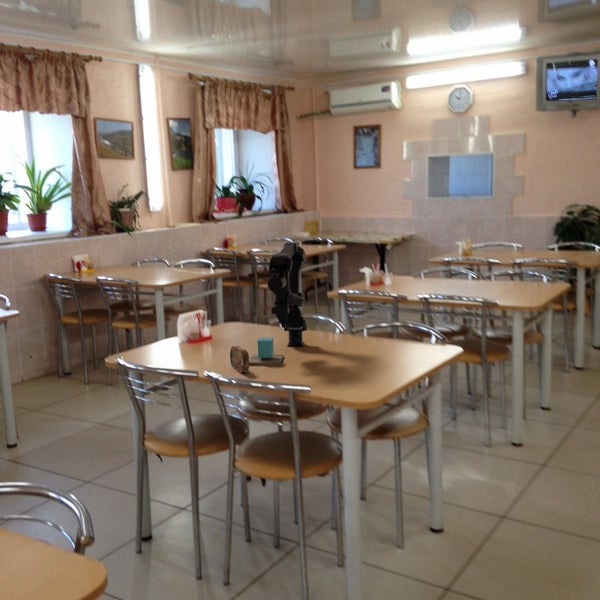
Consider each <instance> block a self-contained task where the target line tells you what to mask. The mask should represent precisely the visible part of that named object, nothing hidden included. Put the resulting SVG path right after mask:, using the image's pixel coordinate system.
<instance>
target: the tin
mask: <svg viewBox="0 0 600 600" xmlns="http://www.w3.org/2000/svg"><path fill="white" fill-rule="evenodd" d="M229 359H230V360H229V361H230V366H231V367H233V368H234V369H233V368H232V369H233V370H234V371H236V370H237V372H238V373H239V374H241V373H247V372H248V371H249V369H250V365H249V361H250V357H249V352H248V351H247V349H245V348H243V347H242V346H241V345H236V346H235V345H233V346H231V348H230V351H229Z"/></svg>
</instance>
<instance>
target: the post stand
mask: <svg viewBox="0 0 600 600" xmlns="http://www.w3.org/2000/svg"><path fill="white" fill-rule="evenodd" d="M284 358H285V356H284V354H274V355H273V357H272V358H258V354H252V356H251V357H250V358H249V366H281V364H282V361H283V360H284Z"/></svg>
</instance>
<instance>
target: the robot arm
mask: <svg viewBox="0 0 600 600" xmlns="http://www.w3.org/2000/svg"><path fill="white" fill-rule="evenodd" d="M306 256H307V255H306V251H305V249H304V248H303V247H301V246H299V245H298V243H296V242H286V243H284V244H283V247H282V249H281V250H280V252H278V253H275V254H273V255H271V257H270V259H269V266H268V275H272V277H270V279H268V281H267V287H268V290H269V291H270V292H272V293H273V295H274V305H273V306H272V307H271V310H270V311H271V314H272V315H275V317H276V318H277V320H278V322H279V324H280V327H281V328H282V329H283V331H284V332H287V333H288V342H287V344H286V345H287V347H303V346H304V345H305V341H303V332H305V331H306V332H307V331H308V328H307V320H306V319H305V317H304V312H303V311H302V310H303V309H301V308H302V307H303V304H304V302H305V300H306V298H305V296H303V295H304V294H303V292H301V272H302V270H303V268H304V267H305V262H306V259H307V257H306Z"/></svg>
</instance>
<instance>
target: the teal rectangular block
mask: <svg viewBox="0 0 600 600" xmlns="http://www.w3.org/2000/svg"><path fill="white" fill-rule="evenodd" d="M274 353H275V352H274V337H259V338H258V339H257V355H258V358H272V357H273V355H275V354H274Z"/></svg>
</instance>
